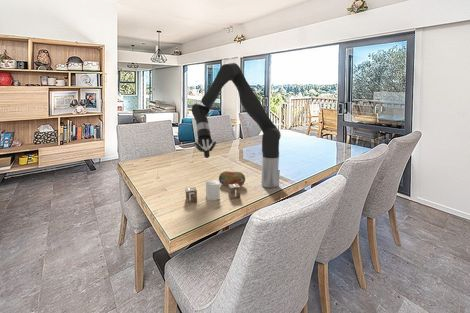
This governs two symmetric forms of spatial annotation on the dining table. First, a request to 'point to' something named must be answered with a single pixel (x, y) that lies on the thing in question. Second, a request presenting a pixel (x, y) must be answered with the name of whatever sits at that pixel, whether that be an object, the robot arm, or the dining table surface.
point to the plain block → (212, 190)
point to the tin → (231, 178)
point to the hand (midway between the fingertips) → (207, 157)
